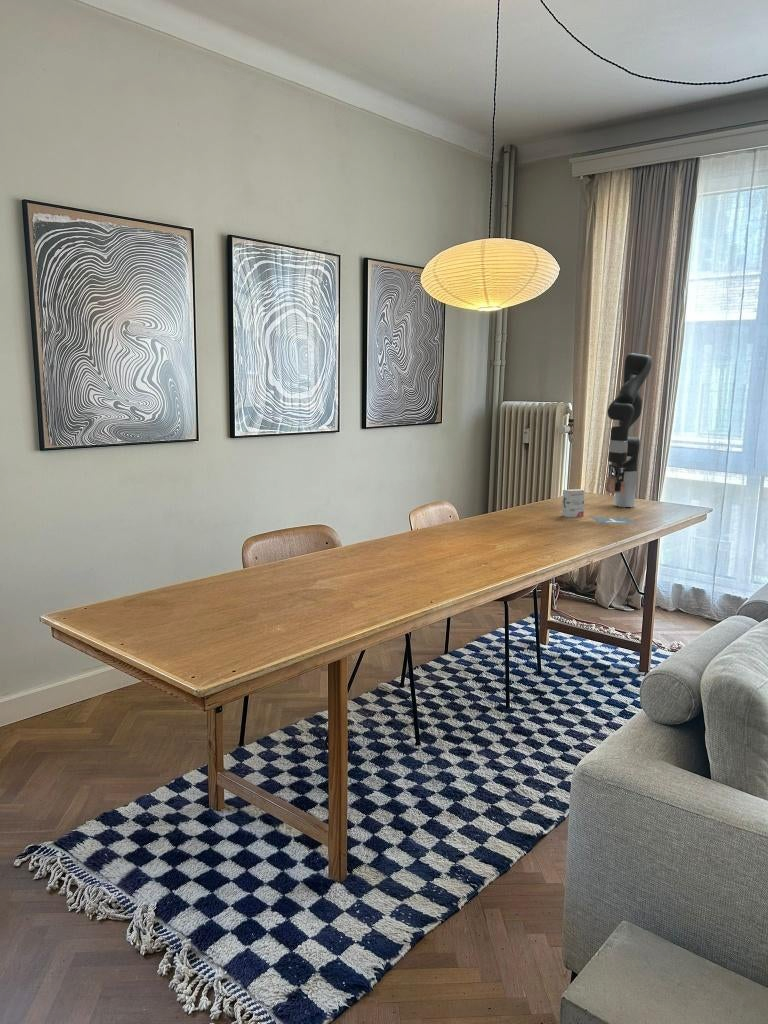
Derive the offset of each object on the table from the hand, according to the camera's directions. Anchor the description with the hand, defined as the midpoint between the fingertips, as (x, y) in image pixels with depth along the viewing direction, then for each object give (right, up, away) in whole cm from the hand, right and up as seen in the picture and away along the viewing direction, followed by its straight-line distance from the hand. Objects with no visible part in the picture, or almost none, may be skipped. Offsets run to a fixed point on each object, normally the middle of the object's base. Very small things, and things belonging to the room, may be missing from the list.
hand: (615, 489), depth 329 cm
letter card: (0, -13, +2) cm, 14 cm away
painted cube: (0, -1, 0) cm, 1 cm away
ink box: (-15, -12, +12) cm, 23 cm away
